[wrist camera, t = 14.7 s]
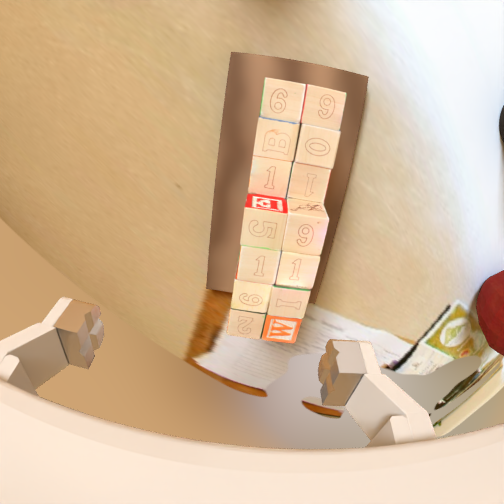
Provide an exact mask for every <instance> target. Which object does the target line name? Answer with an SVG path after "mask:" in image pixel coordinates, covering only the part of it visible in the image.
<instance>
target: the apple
mask: <svg viewBox="0 0 504 504" xmlns="http://www.w3.org/2000/svg"><path fill="white" fill-rule="evenodd" d="M476 309H477V314H478V320H479V325H480V327H481V329H482V331H483V333H484V335H485V338H486V340H487V342H488V344H489V346H490V347H491V348H493V349H494V350H495V351H497V352H498V353H500V354H502V355H503V356H504V270H503V271H501V272H499V273H497V274H495V275H493V276H491V277H489V278H488V279H487V280H486V281H485V282H484V284H483V285H482V287H481V290H480V292H479V295H478V298H477V305H476Z"/></svg>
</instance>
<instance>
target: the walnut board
mask: <svg viewBox="0 0 504 504" xmlns="http://www.w3.org/2000/svg"><path fill="white" fill-rule="evenodd" d="M265 78H273V79H279V80H285V81H291V82H296V83H302V84H309V85H314V86H319V87H323V88H328V89H332V90H337V91H341V92H345V93H347V96H346V101H345V106H344V112H343V117H342V122H341V126H340V132H341V134H340V139H339V144H338V149H337V154H336V158H335V162H334V166H333V169H332V170H331V175H330V179H329V184H328V188H327V192H326V197H325V201H324V207H325V209H326V212H327V215H328V217H329V224H328V228H327V232H326V236H325V240H324V245H323V249H322V253H321V255H320V262H319V266H318V270H317V274H316V278H315V282H314V285H313V287H312V288H311V292H310V297H309V300H308V303H314V304H315V301H316V298H317V295H318V291H319V288H320V285H321V281H322V278H323V274H324V271H325V267H326V264H327V260H328V257H329V253H330V249H331V246H332V242H333V238H334V235H335V231H336V227H337V223H338V219H339V215H340V211H341V207H342V203H343V199H344V195H345V191H346V187H347V182H348V178H349V174H350V169H351V165H352V160H353V156H354V151H355V146H356V142H357V137H358V132H359V127H360V122H361V117H362V111H363V106H364V100H365V95H366V89H367V83H368V77H367V76H364V75H360V74H356V73H352V72H348V71H344V70H340V69H336V68H332V67H327V66H323V65H318V64H313V63H308V62H302V61H297V60H291V59H285V58H278V57H272V56H264V55H256V54H247V53H238V52H231V57H230V64H229V71H228V78H227V85H226V93H225V101H224V109H223V117H222V125H221V133H220V142H219V151H218V160H217V169H216V179H215V189H214V199H213V210H212V221H211V233H210V245H209V258H208V271H207V285H206V289H212V290H219V291H225V292H232V293H233V288H234V280H235V274H236V269H237V262H238V257H239V252H240V247H241V244H240V240H241V232H242V223H243V215H244V208H245V203H246V198H247V194H248V187H249V180H250V171H251V164H252V158H253V151H254V144H255V138H256V131H257V123H258V118H259V115H260V107H261V100H262V93H263V86H264V80H265Z"/></svg>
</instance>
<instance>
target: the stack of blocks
mask: <svg viewBox="0 0 504 504" xmlns="http://www.w3.org/2000/svg"><path fill="white" fill-rule="evenodd" d="M346 96H347V93H345V92H341V91H337V90H332V89H328V88H323V87H319V86H314V85H309V84H302V83H296V82H291V81H285V80H279V79H273V78H265V80H264V86H263V93H262V100H261V107H260V115H259V118H258V123H257V131H256V138H255V144H254V151H253V158H252V164H251V171H250V180H249V187H248V194H247V198H246V203H245V208H244V215H243V223H242V232H241V240H240V244H241V247H240V252H239V257H238V262H237V269H236V274H235V280H234V288H233V295H232V302H231V308H230V314H229V321H228V327H227V334H228V335H233V336H239V337H246V338H252V339H258V340H259V339H260V338H261V339H263V340H267V341H276V342H285V343H295V341H296V338H297V335H298V332H299V329H300V325H301V322H302V319H303V318H304V315H305V311H306V308H307V304H308V300H309V297H310V292H311V288H312V287H313V285H314V282H315V278H316V274H317V270H318V266H319V262H320V255H321V253H322V249H323V245H324V240H325V236H326V232H327V228H328V224H329V217H328V215H327V212H326V209H325V207H324V201H325V197H326V192H327V188H328V184H329V179H330V175H331V170H332V169H333V166H334V162H335V158H336V154H337V149H338V144H339V139H340V134H341V132H340V126H341V122H342V117H343V112H344V106H345V101H346Z"/></svg>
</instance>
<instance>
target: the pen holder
mask: <svg viewBox="0 0 504 504" xmlns="http://www.w3.org/2000/svg"><path fill="white" fill-rule="evenodd" d="M500 132H501V136H502V139H503V142H504V106H503V108H502V111H501V115H500Z"/></svg>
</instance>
